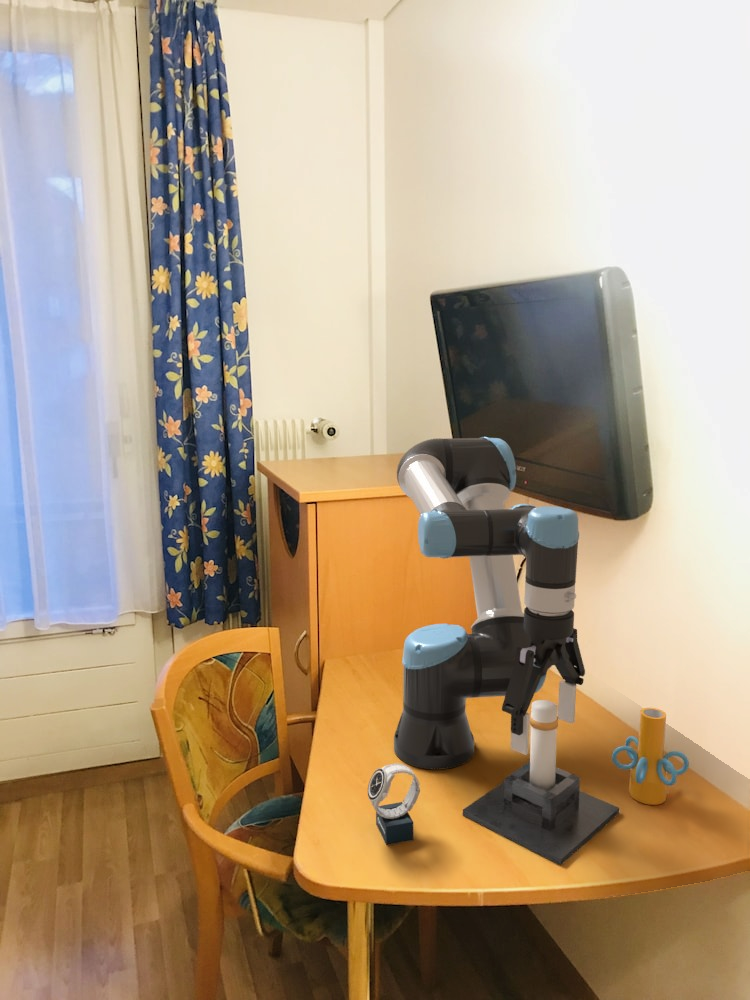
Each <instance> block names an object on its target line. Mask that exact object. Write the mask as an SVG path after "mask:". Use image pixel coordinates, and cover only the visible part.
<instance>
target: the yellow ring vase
mask: <svg viewBox="0 0 750 1000" xmlns="http://www.w3.org/2000/svg"><path fill="white" fill-rule="evenodd" d="M666 720H667V714H666V712H665V711H663V710H661V709H659V708H656V707H655V708H654V707H644V708H641V709H640V713H639V725H638V727H639V728H638V738H637V737H636V736H633V735H630V736H628V737H627V738H626V739H625V744H624V745H621V746H617V747H616V748H615V749H613V752H612V755H611V760H612V763H613V764H614V765H615V766H616V767H617V768H618V769H621V770H625V771H626V770H628V771H629V770H630V771H629V772H630V773H629V785H628V786H629V788H628V792H629V796H630V797H631V798H632V799H634V801H637V802H638V803H641V804H644V805H649V806H657V805H661V804H663V803H665V802H666V800H667V796H668V795H667V794H668V786H669V787H670V786H674V785H675V784H676V782H677V778H678V777H677V776H680V775H683V774H685V773H686V772H687V771H688V769H689V767H690V761H689V758H688V756H687V755H686V754H685V753H683V752H681V751H678V750H671V751H668V752H666V753H665V754H664V749H665V738H666V737H665V736H666V735H665V733H666V724H667V723H666ZM631 742H634V744H635V745H636V747H637V751H636V750H635V749H634V748H633V747H631ZM623 751H626V753H627V756H628V757H629V759H631V760H632V761H631V762H630V763H629V764H622V763H621V762H619V760H618V759H617V757H618V755H619V753H621V752H623ZM671 757H679V758H681V759H682V760H683V765H682V767H681V768H680V769H676V768H675V765H674V764H673V763H672V762H671V761H670V760H669V759H670V758H671ZM668 774H670V775H671V778H670V780H669V775H668Z"/></svg>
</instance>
